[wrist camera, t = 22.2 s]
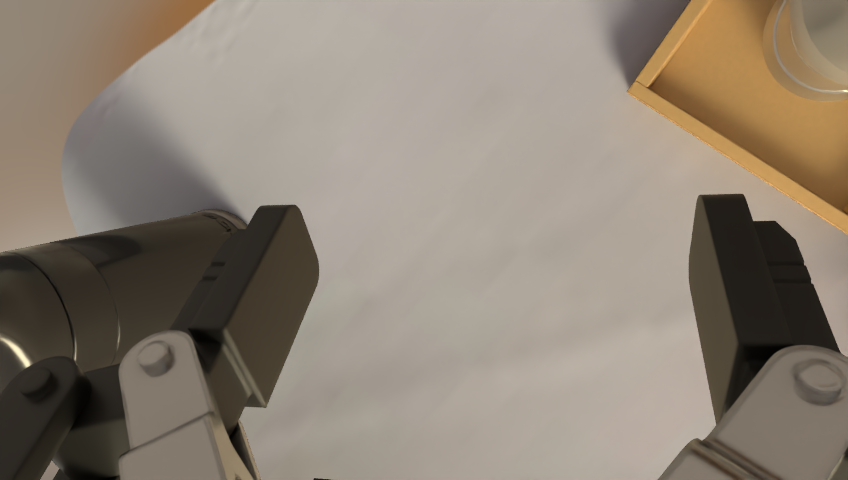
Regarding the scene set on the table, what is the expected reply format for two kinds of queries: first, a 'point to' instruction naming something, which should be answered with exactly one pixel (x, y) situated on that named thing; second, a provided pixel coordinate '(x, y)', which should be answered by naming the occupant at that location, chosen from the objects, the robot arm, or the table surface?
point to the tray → (748, 105)
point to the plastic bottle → (809, 47)
